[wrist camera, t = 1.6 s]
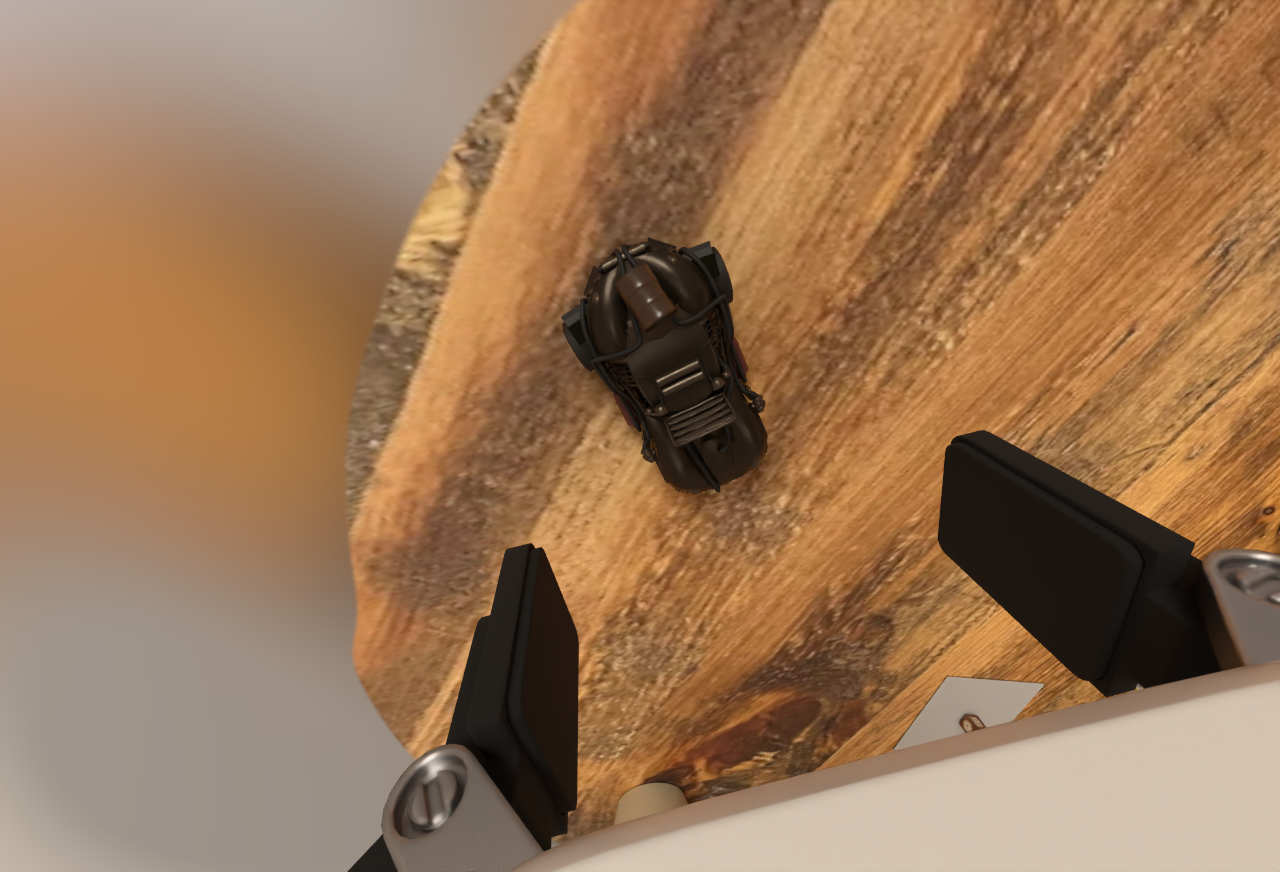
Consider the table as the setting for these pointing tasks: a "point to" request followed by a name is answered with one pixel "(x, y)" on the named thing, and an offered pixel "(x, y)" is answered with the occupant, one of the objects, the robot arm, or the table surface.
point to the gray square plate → (968, 708)
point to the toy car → (672, 360)
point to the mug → (648, 801)
